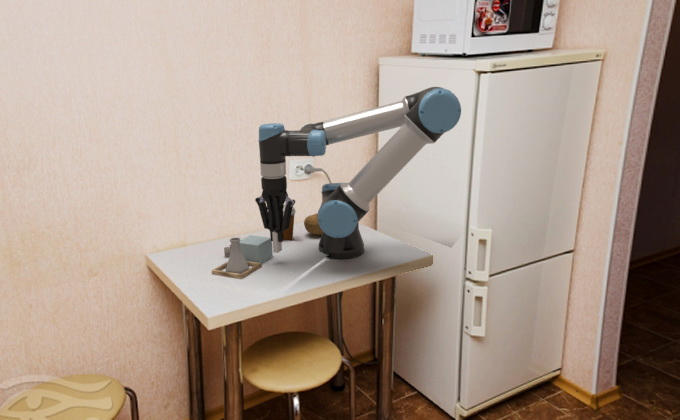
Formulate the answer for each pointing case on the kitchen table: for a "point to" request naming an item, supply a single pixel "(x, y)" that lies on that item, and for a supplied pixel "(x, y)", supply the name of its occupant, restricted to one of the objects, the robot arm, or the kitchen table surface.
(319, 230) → the potato
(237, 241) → the flask
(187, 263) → the kitchen table surface
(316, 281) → the kitchen table surface
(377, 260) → the kitchen table surface
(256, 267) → the board
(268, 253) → the pale blue block
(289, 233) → the disposable coffee cup
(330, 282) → the kitchen table surface
